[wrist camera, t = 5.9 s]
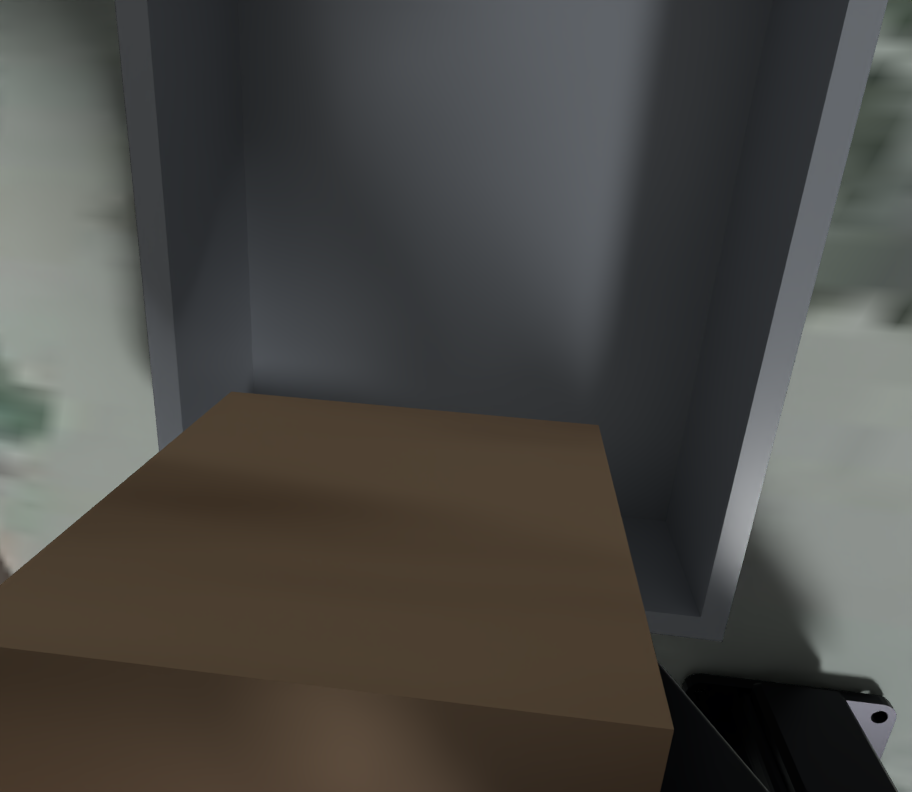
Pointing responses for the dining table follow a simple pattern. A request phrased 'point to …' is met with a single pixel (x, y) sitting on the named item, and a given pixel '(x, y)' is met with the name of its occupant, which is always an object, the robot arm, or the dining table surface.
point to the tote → (504, 226)
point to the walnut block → (339, 615)
